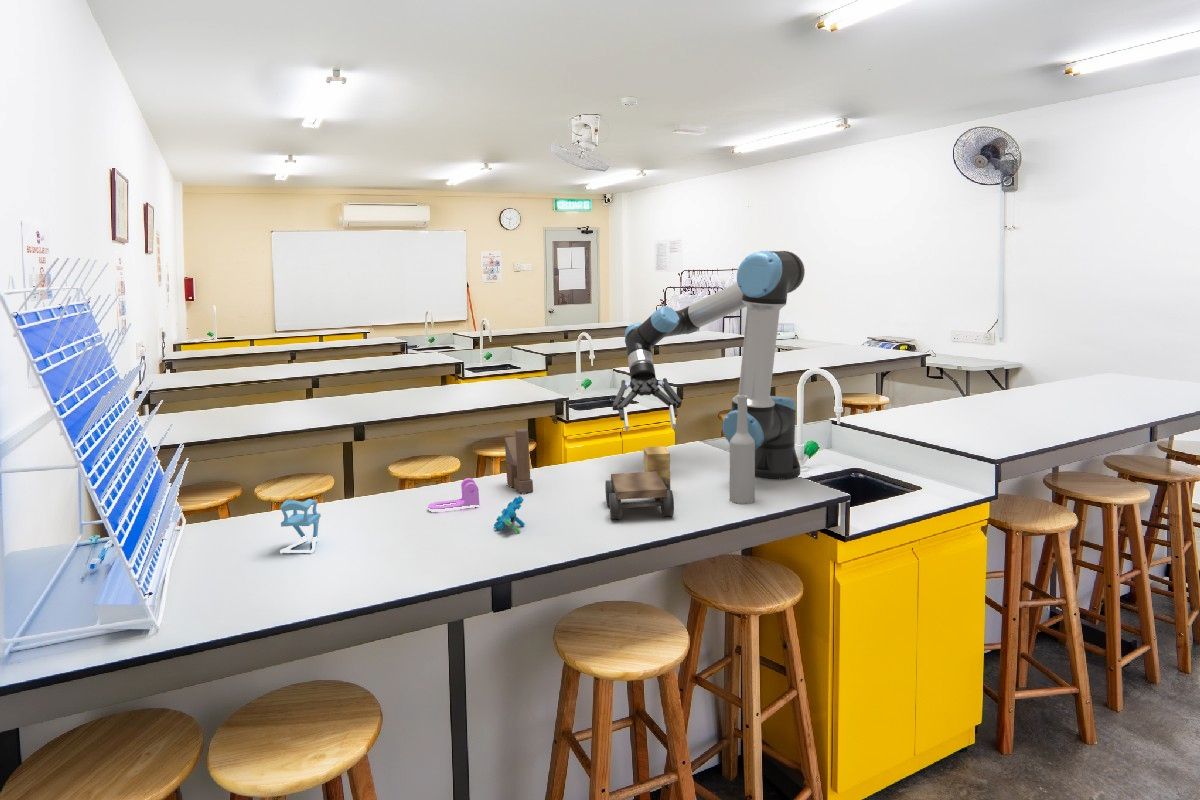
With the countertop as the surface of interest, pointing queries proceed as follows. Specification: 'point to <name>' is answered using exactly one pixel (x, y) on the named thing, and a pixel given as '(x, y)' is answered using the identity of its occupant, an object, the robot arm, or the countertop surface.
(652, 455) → the block
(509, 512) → the gear
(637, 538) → the countertop surface
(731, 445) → the bottle
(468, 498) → the bracket
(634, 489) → the trolley
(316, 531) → the chair
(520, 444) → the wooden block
